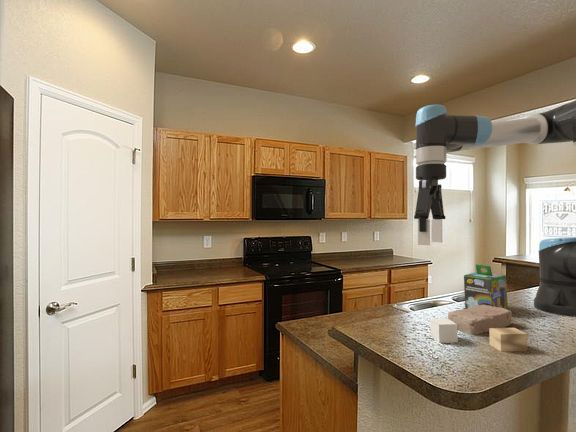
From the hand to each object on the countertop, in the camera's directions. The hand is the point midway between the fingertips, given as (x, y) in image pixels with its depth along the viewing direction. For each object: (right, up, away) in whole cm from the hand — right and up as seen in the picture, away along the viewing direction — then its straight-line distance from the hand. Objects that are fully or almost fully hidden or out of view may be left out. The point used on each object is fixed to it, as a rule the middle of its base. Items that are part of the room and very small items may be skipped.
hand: (430, 243), depth 87 cm
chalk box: (+26, -23, +18) cm, 40 cm away
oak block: (+13, -23, -12) cm, 29 cm away
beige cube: (+1, -24, -6) cm, 24 cm away
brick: (+15, -24, +3) cm, 28 cm away
